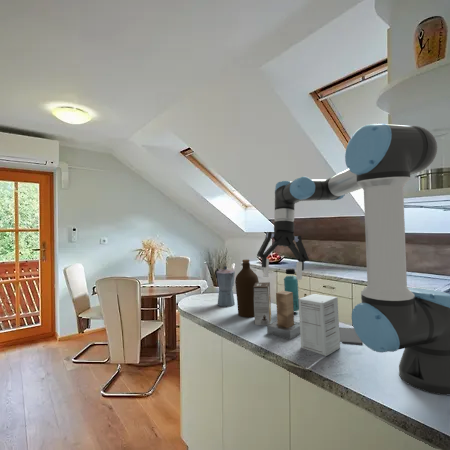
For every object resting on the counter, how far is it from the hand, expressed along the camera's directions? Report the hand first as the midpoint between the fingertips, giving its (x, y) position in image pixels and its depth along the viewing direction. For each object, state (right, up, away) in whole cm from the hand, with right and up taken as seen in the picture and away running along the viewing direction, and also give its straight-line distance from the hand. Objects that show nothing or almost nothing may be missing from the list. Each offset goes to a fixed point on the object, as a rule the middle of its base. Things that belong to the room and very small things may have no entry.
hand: (282, 278), depth 117 cm
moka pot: (-21, -22, +47) cm, 56 cm away
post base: (+2, -21, +2) cm, 21 cm away
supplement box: (+10, -21, -13) cm, 27 cm away
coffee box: (-5, -21, +16) cm, 27 cm away
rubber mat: (+21, -20, -3) cm, 29 cm away
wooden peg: (+2, -21, +2) cm, 21 cm away
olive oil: (-10, -21, +28) cm, 37 cm away
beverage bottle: (+10, -21, +28) cm, 36 cm away
